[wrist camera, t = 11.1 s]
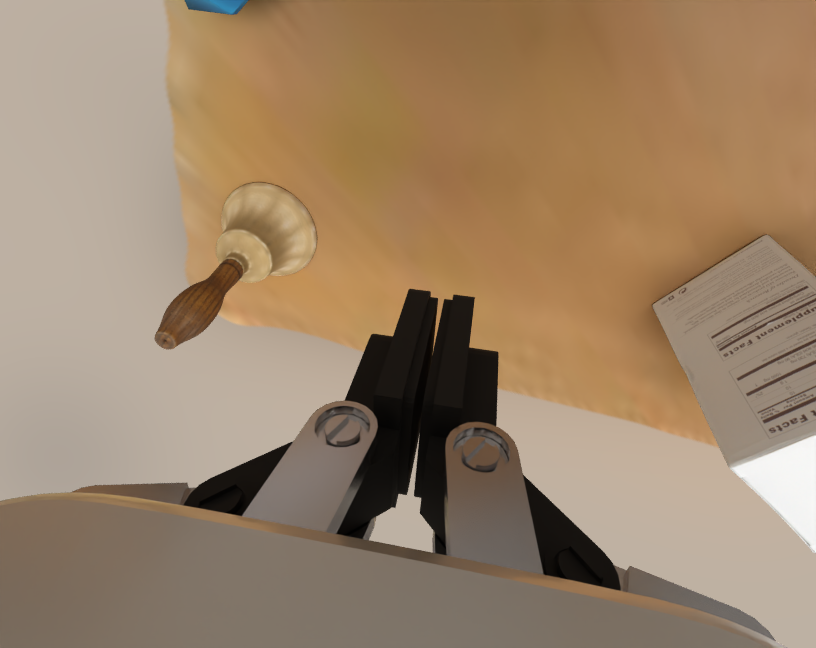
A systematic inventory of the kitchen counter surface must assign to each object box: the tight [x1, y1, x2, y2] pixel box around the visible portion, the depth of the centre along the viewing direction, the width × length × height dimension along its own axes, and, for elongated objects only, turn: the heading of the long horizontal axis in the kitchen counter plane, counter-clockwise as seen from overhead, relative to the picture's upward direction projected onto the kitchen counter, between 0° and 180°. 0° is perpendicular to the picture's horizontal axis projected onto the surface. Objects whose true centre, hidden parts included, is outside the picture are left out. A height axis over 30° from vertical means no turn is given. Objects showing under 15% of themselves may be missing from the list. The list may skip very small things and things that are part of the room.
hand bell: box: [155, 182, 317, 349], centre depth 34 cm, size 8×8×16 cm
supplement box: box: [652, 235, 816, 553], centre depth 31 cm, size 10×9×17 cm
